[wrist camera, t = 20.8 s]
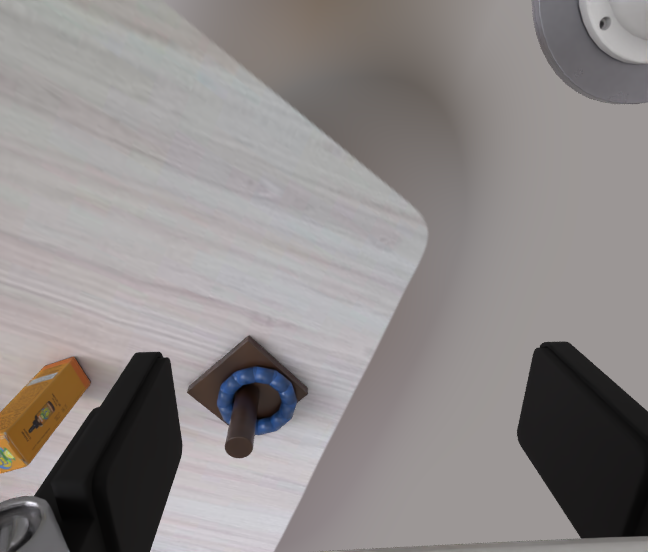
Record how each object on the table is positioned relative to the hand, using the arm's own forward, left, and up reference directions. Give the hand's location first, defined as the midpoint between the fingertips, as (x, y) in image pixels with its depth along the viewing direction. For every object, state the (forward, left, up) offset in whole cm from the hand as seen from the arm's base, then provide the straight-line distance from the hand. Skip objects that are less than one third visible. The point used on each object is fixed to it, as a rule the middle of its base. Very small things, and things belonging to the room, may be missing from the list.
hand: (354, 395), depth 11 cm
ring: (+17, +10, -25) cm, 31 cm away
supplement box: (+28, -3, -26) cm, 39 cm away
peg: (+17, +9, -26) cm, 33 cm away
